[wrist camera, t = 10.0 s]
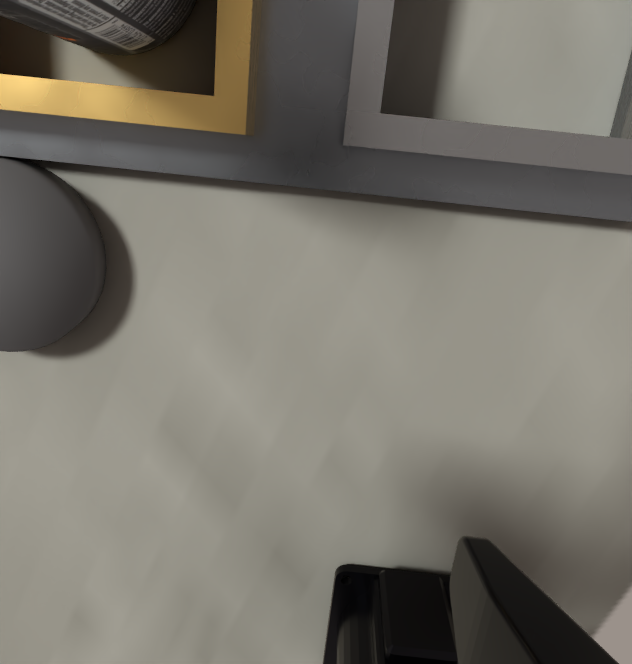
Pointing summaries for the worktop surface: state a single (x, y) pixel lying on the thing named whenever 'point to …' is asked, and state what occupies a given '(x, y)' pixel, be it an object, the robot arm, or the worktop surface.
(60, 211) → the grey puck
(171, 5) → the pill bottle
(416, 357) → the worktop surface
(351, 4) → the faceplate
